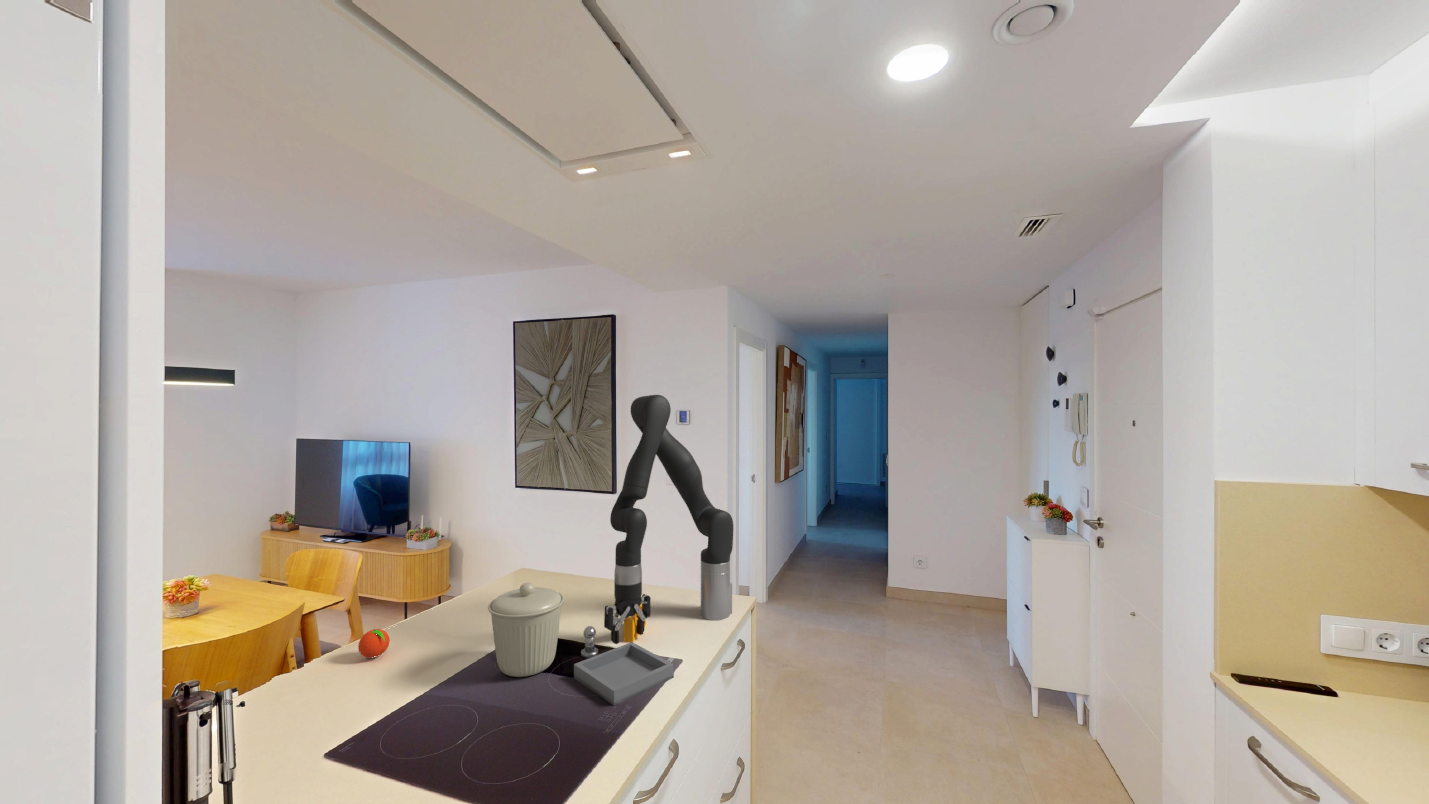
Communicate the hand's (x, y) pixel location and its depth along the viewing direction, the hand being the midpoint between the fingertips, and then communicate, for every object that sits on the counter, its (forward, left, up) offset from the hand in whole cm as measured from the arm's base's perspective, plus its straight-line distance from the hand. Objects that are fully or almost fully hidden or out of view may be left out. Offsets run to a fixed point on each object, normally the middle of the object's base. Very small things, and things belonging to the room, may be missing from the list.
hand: (627, 638), depth 147 cm
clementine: (+52, -40, -2) cm, 65 cm away
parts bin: (+12, +15, -1) cm, 19 cm away
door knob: (+11, -2, -1) cm, 11 cm away
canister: (+26, -7, -2) cm, 27 cm away
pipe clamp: (-5, -4, -2) cm, 7 cm away
